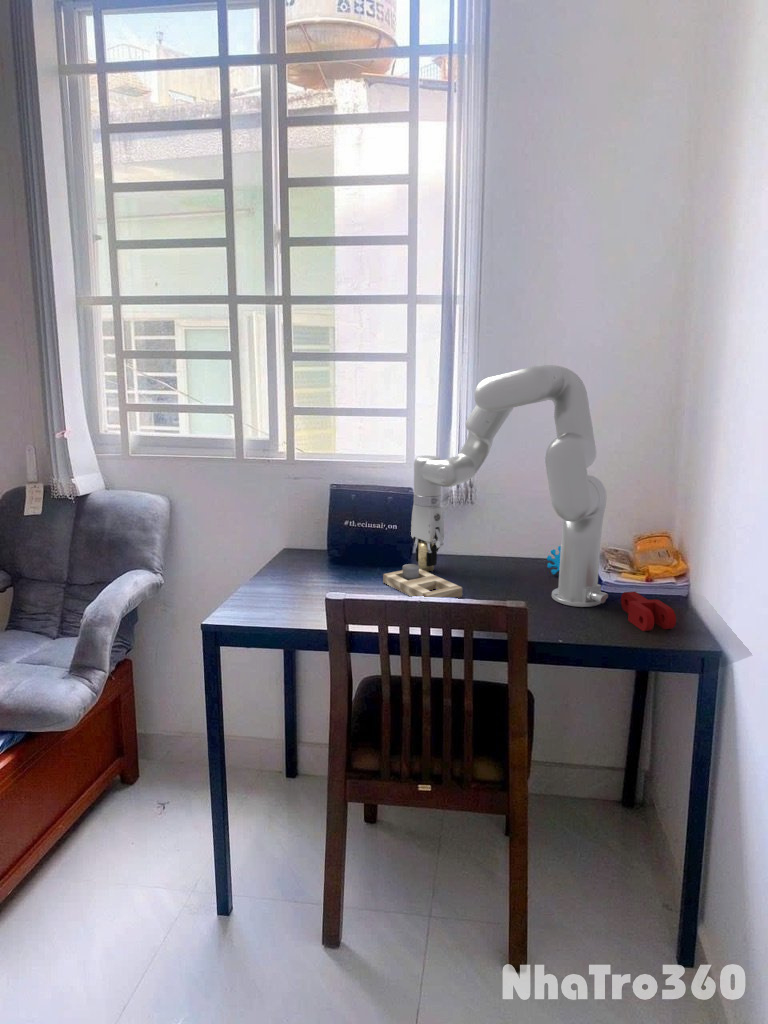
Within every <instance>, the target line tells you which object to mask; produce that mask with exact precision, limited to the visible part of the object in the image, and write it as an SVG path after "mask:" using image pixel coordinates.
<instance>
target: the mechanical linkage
mask: <svg viewBox="0 0 768 1024" xmlns="http://www.w3.org/2000/svg"><path fill="white" fill-rule="evenodd" d="M620 605H621V608H622V610H623V611H624V612H626V613H627V615H628V616H627V617H628V618H627V621H628V622H629V623H631V624H632V625H633V626H635V627H637V628H638V629H639V630H641V631H642V632H647V631H648V632H651V631H652V630H653V629H654V625H657V626H658V627H660V628H661V629H663V630H672V629H674V628H675V626H676V622H677V617H676V613H675V610H674V609H673V608H672V607H671V606H670V605H668V604H666V603H664V602H662V601H661V600H659V599H647V598H646V597H645V596H643V595H641V594H639V593H638V592H637V591H624V592H623V593H622V594H621V597H620Z"/></svg>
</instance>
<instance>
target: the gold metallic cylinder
mask: <svg viewBox="0 0 768 1024" xmlns="http://www.w3.org/2000/svg"><path fill="white" fill-rule="evenodd" d="M433 545H434V543H433V544H431V547H432V546H433ZM427 552H428V547H427V542H426V541H420V542H419V546H418V562H417V563H418V564H417V565H418V566H419V569H421V570H424V571H426V572H428V573H430V572H429V571H432V572H434V571H433V570H434V568H435V565H434V566H429V567H428V566H427V565H426V555H427Z"/></svg>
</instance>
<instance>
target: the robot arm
mask: <svg viewBox="0 0 768 1024" xmlns="http://www.w3.org/2000/svg"><path fill="white" fill-rule="evenodd" d="M474 401H475V404H476V405H475V407H474V408H473V410H472V411H471V412H470V414H469V416H468V417H467V419H466V421H465V422H464V423H465V428H466V429H467V431H468V433H467V434H468V435H467V439H466V440H465V442H464V444H463V446H462V447H461V449H460V450H459V452H458V454H457V455H455V456H452V457H449V458H445V459H441V458H440V457H438V456H436V455H421V456H416V458H415V459H414V460H413V505H412V511H411V523H410V525H411V526H410V532H411V535H410V536H411V538H412V540H413V542H414V548H415V562H417V563H418V546H419V542H420V541H426V542H427V547H428V552H427V555H426V565H427V566H428V567H429V566H434V567H435V566H436V565H437V563H438V562H437V559H438V556H437V555H438V552H439V549H440V548H442V546H444V540H445V522H444V511H443V507H442V506H441V504H442V503H441V499H442V497H441V494H442V488H452V487H455V486H459V485H460V484H464V483H466V482H469V481H470V480H471V479H472V478H474V476H475V475H476V474H477V473H478V471H479V469H480V468H481V466H482V465H483V463H484V462H485V461H486V459H487V457H488V456H489V453H490V450H491V447H492V445H493V442H494V441H493V440H494V438H495V437H496V436H497V434H498V432H499V430H500V429H501V428H502V426H503V424H504V423H505V421H506V420H507V419H508V417H509V415H511V412H512V411H513V410H514V408H517V407H522V406H526V405H531V404H536V403H540V402H546V401H552V402H553V405H554V412H553V413H554V414H553V415H554V416H553V417H554V424H555V430H556V438H555V439H553V440H552V441H551V442H550V443H549V444H548V446H547V449H546V451H545V458H544V459H545V470H546V477H547V482H548V490H549V495H550V502H551V507H552V508H553V510H554V512H555V513H556V515H557V516H558V517H559V518H560V519H562V520H563V521H562V525H561V527H562V528H561V539H560V546H561V553H560V569H559V571H558V572H559V573H558V584H557V585H558V587H557V588H555V589H553V590H552V591H551V598H552V599H553V600H554V601H555V602H557V603H559V604H563V605H566V606H570V607H578V608H579V607H580V608H584V607H585V608H589V607H595V606H598V605H601V604H604V603H605V602H606V601H607V599H608V598H609V594H608V593H606V592H603V591H602V585H601V584H599V573H600V572H599V571H600V570H599V569H600V556H601V543H602V532H603V523H604V516H605V511H606V510H605V509H606V505H607V491H606V487H605V485H604V483H603V482H602V481H601V480H600V479H599V478H598V477H596V476H594V475H590V474H588V468H590V467H591V466H592V465H593V463H594V462H595V460H596V458H597V446H596V441H595V433H594V428H593V422H592V417H591V412H590V411H591V410H590V404H589V403H590V402H589V398H588V392H587V388H586V386H585V384H584V382H583V380H582V379H581V377H580V376H579V375H578V374H577V373H575V371H573V370H571V369H569V368H567V367H565V366H560V365H556V364H554V365H553V364H544V365H537V366H536V365H534V366H530V367H524V368H521V369H517V370H514V371H509V372H506V373H505V372H504V373H501V374H497V375H493V376H489V377H485V378H484V379H482V380H481V381H479V383H478V384H477V386H476V388H475V390H474ZM433 543H434V545H433V546H432V547H431V544H433Z"/></svg>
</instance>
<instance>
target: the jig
mask: <svg viewBox="0 0 768 1024" xmlns="http://www.w3.org/2000/svg"><path fill="white" fill-rule="evenodd" d="M382 576H383V577H382V582H383V584H384V583H385V585H386V584H387V585H386V586H388V585H389V586H388V587H390V586H391V588H392V587H393V589H394V588H396V589H397V590H396V589H395V590H396V591H398V590H399V591H398V592H400V591H401V593H402V592H403V594H404V593H406V594H408V595H409V596H408V595H407V596H408V597H410V596H424V597H458V598H462V597H463V587H462V586H460V585H458V584H456V583H453V582H451V581H448V580H447V579H444V578H441V577H439V576H437V575H436V574H435V575H434V574H433V573H431V572H426V571H424V570H421V569H419V566H418V564H414V563H408V564H407V563H406V564H404V565H402V569H401V570H396V571H392V572H386V573H383V574H382ZM433 589H437V590H433ZM429 590H432V591H429ZM406 594H405V595H406ZM458 598H457V599H458Z"/></svg>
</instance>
